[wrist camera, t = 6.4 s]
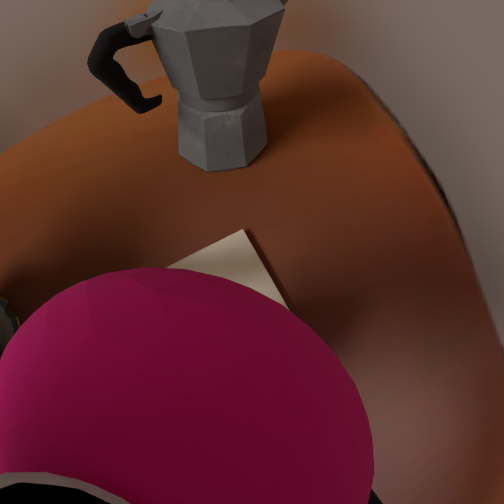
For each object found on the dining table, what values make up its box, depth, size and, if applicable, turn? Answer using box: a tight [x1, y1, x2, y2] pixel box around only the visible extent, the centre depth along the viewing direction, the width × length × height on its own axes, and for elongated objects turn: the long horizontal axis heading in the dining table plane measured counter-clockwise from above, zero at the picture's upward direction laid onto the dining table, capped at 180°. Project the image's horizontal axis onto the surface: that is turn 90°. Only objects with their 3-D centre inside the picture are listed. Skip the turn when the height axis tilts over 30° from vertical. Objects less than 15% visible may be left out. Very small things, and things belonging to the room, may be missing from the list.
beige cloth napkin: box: [166, 229, 290, 311], centre depth 21 cm, size 16×16×1 cm
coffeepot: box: [87, 0, 288, 172], centre depth 19 cm, size 15×9×18 cm, turn 122°
